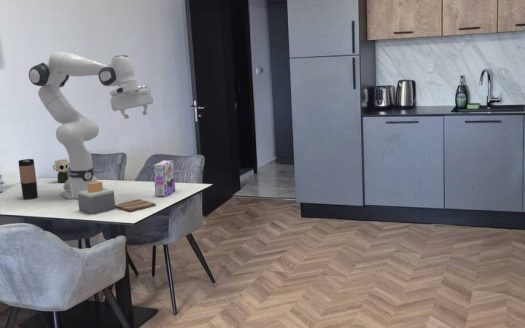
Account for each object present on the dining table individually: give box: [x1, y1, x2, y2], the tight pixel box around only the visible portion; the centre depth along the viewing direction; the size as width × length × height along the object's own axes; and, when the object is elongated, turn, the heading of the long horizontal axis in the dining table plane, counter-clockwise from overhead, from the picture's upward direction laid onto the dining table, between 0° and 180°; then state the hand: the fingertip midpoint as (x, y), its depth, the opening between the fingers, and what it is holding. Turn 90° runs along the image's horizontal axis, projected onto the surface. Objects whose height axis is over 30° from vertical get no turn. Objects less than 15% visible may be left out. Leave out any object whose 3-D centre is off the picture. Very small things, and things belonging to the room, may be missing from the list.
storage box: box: [77, 192, 116, 216], centre depth 266 cm, size 12×12×8 cm
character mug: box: [52, 158, 70, 183], centre depth 334 cm, size 11×7×13 cm, turn 137°
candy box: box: [153, 160, 176, 198], centre depth 293 cm, size 14×6×16 cm, turn 168°
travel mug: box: [17, 158, 39, 200], centre depth 296 cm, size 8×8×20 cm
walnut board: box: [115, 198, 157, 213], centre depth 270 cm, size 14×14×1 cm
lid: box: [77, 180, 115, 198], centre depth 265 cm, size 12×12×6 cm
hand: (136, 116), depth 273 cm, fingers open, 8 cm apart
